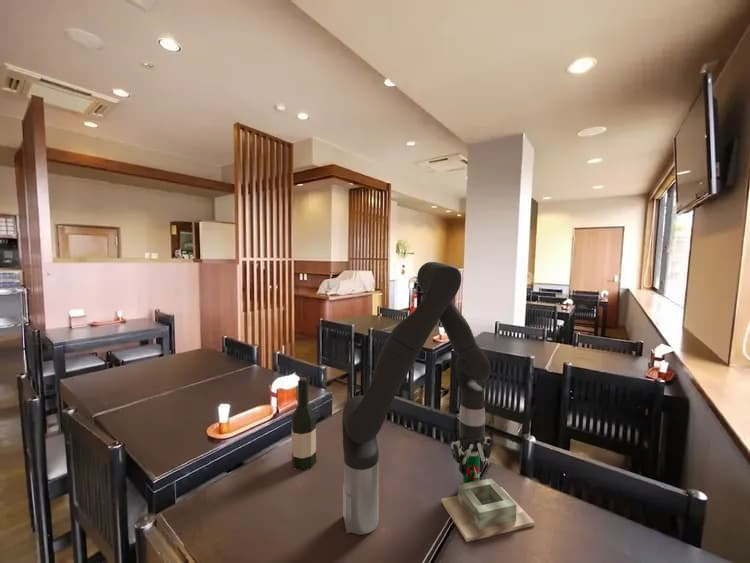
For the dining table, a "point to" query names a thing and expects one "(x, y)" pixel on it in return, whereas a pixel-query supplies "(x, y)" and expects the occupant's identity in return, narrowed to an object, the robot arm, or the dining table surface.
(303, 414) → the wine bottle
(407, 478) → the dining table surface
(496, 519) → the holder
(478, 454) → the soda can
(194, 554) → the dining table surface
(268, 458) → the dining table surface
